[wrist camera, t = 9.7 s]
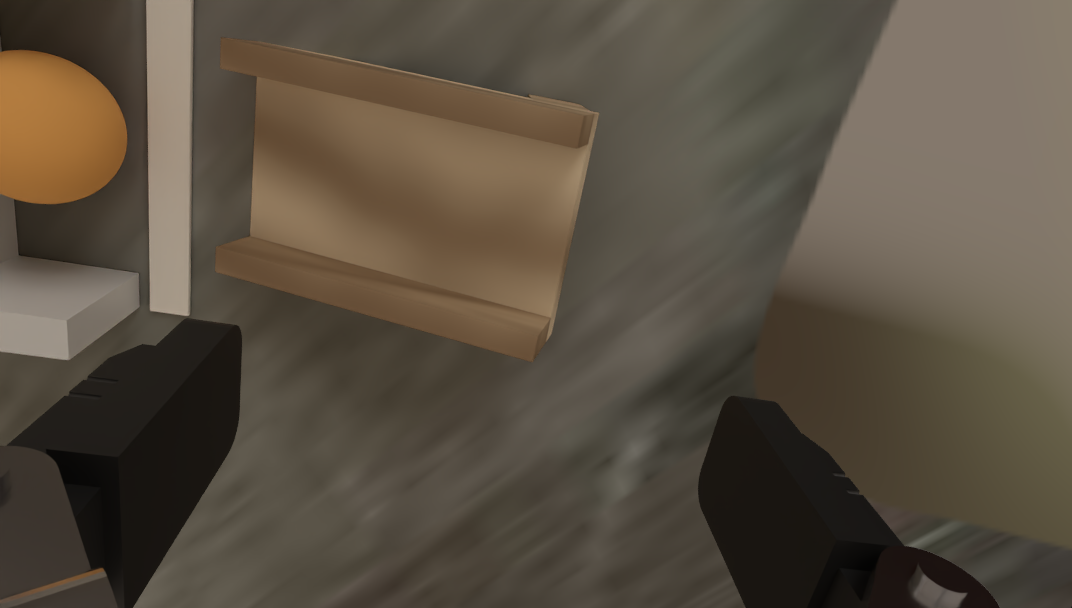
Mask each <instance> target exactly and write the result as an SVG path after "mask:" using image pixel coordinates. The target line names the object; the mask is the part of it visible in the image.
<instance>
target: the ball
mask: <svg viewBox="0 0 1072 608" xmlns="http://www.w3.org/2000/svg"><path fill="white" fill-rule="evenodd" d="M126 148H127V129H126V124H125V120H124V117H123V115H122V112H121V110H120V108H119V106H118V104H117V102H116V100H115V99H114V97H113V96H112V94H111V93H110V92H109V91H108V89H107V88H106V87H105V86H104V85H103V84H102V83H101V82H100V81H99V80H98V79H97V78H95V77H94V76H93V75H92V74H90V73H89V72H88V71H86V70H85V69H83V68H81V67H80V66H78V65H76V64H74V63H72V62H70V61H68V60H66V59H64V58H61V57H58V56H55V55H51V54H48V53H44V52H38V51H30V50H9V51H2V52H0V194H2V195H5V196H7V197H10V198H13V199H16V200H20V201H24V202H29V203H36V204H60V203H67V202H72V201H76V200H79V199H82V198H84V197H87V196H89V195H91V194H93V193H95V192H97V191H98V190H100V189H101V188H102V187H104V186H105V185H106V184H107V183H108V182H109V181H110V180H111V179H112V178H113V177H114V176H115V175H116V173H117V171H118V170H119V168H120V166H121V164H122V162H123V160H124V157H125V154H126Z"/></svg>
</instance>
